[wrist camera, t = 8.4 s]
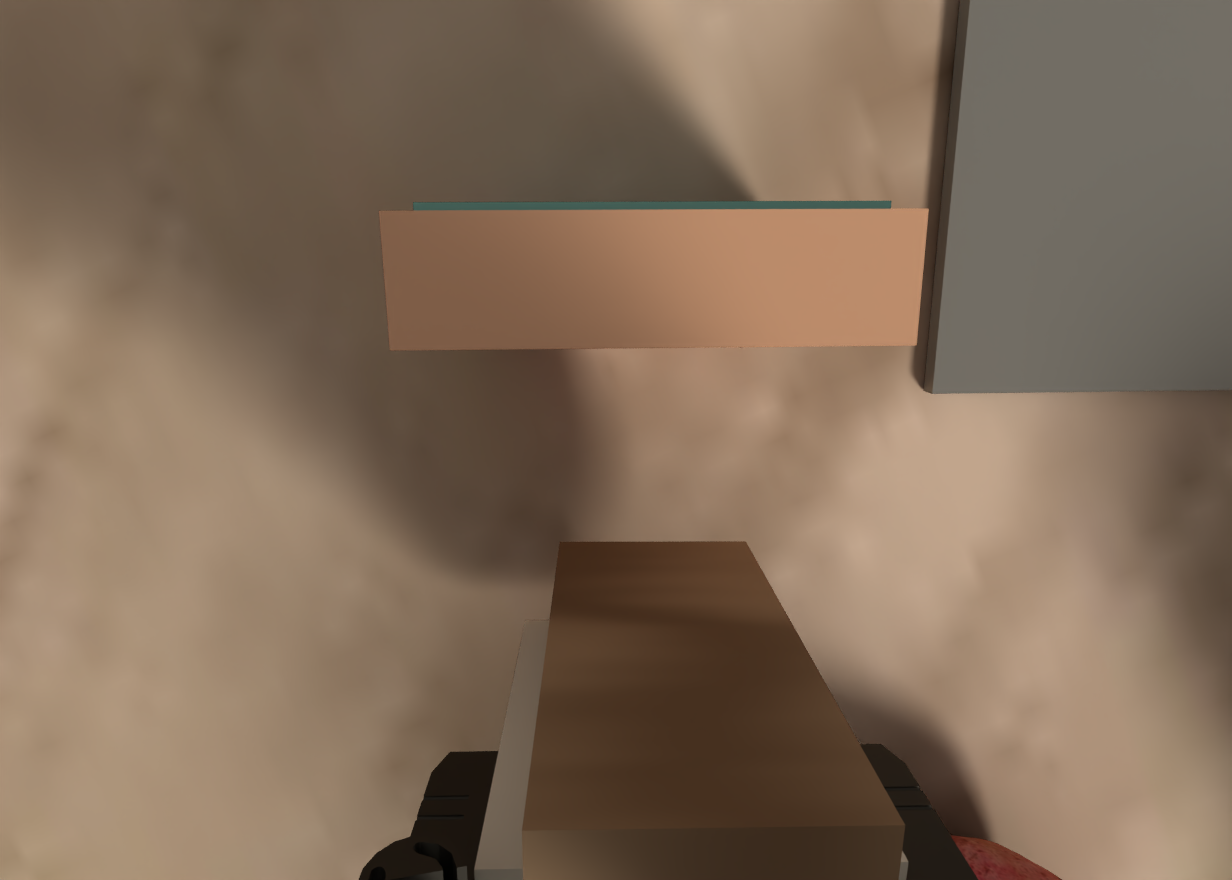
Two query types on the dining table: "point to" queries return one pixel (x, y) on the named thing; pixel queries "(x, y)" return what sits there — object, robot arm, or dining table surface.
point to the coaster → (1086, 200)
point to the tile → (652, 274)
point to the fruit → (998, 861)
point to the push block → (692, 731)
